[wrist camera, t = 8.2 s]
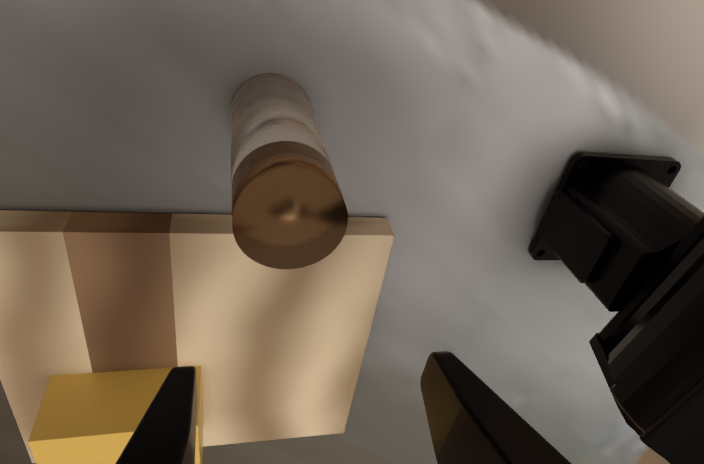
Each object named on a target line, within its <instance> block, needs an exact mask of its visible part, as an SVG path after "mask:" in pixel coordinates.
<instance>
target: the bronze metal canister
mask: <svg viewBox="0 0 704 464" xmlns="http://www.w3.org/2000/svg"><path fill="white" fill-rule="evenodd" d="M231 174H232V229H233V235H234V238H235V240H236V243H237V244H238V246H239V248H240V249H241V250H242V251H243V253H244V254H246V255H247V256H248V257H249V258H250V259H252V260H253V261H255V262H257V263H259V264H261V265H264V266H267V267H270V268H275V269H297V268H302V267H306V266H309V265H312V264H315V263H317V262H319V261H321V260H322V259H324V258H325V257H327V256H328V255H329V254H331V253H332V252H333V251H334V250H335V249H336V248H337V246H338V245H339V244H340V242H341V241H342V239H343V237H344V235H345V232H346V229H347V224H348V213H347V208H346V205H345V202H344V200H343V197H342V194H341V191H340V188H339V186H338V183H337V180H336V177H335V174H334V171H333V169H332V166H331V163H330V160H329V157H328V155H327V152H326V149H325V146H324V143H323V141H322V138H321V135H320V132H319V129H318V127H317V124H316V121H315V118H314V115H313V112H312V110H311V107H310V104H309V101H308V99H307V96H306V94H305V93H304V91H303V90H302V88H301V87H300V86H299V85H298V84H297V83H295V82H294V81H293V80H291V79H289V78H287V77H285V76H282V75H278V74H262V75H258V76H255V77H252V78H251V79H249V80H247V81H246V82H244V83H243V84H242V85H241V86H240V87H239V88H238V90H237V91H236V93H235V95H234V97H233V99H232V103H231Z"/></svg>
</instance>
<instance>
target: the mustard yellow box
mask: <svg viewBox="0 0 704 464" xmlns="http://www.w3.org/2000/svg"><path fill="white" fill-rule="evenodd" d="M194 367H195V368H196V381H197V414H196V441H195V464H202V449H203V425H204V420H203V398H202V376H201V366H194ZM173 368H174V367H173ZM171 369H172V368H158V369H143V370H128V371H113V372H97V373H82V374H67V375H52V376H51V377H50V379H49V382H48V385H47V388H46V391H45V394H44V397H43V399H42V402H41V405H40V408H39V411H38V414H37V417H36V420H35V422H34V425H33V428H32V431H31V434H30V437H29V440H28V444H29V446H30V448H31V451H32V453H33V456H34V458H35V461H36V463H37V464H116V462H117V460H118V458H119V457H120V455H121V453H122V452H123V450H124V448H125V446H126V445H127V443H128V441H129V440H130V438H131V436H132V435H133V433H134V431H135V429H136V428H137V426H138V424H139V423H140V421H141V419H142V418H143V416H144V414H145V412H146V411H147V409H148V407H149V406H150V404H151V402H152V401H153V399H154V397H155V395H156V394H157V392H158V390H159V389H160V387H161V385H162V384H163V382H164V380H165V378H166V377H167V375H168V373H169V372H170V370H171Z"/></svg>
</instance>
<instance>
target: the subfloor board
mask: <svg viewBox="0 0 704 464" xmlns="http://www.w3.org/2000/svg"><path fill="white" fill-rule="evenodd" d="M394 236H395V235H394V233H393V231H392V229H391V227H390V225H389V222H388V220H387V218H369V217H348V224H347V229H346V232H345V235H344V237H343V239H342V241H341V242H340V244H339V245H338V246H337V248H336V249H335V250H334V251H333V252H332V253H331V254H329V255H328V256H327V257H325V258H324V259H322V260H321V261H319V262H317V263H315V264H312V265H309V266H306V267H302V268H297V269H275V268H270V267H267V266H264V265H261V264H259V263H257V262H255V261H253V260H252V259H250V258H249V257H248V256H247V255H246V254H244V253H243V251H242V250H241V249H240V248H239V246H238V244H237V243H236V240H235V238H234V235H233V229H232V215H221V214H171V213H121V212H72V211H22V210H0V380H1V382H2V385H3V388H4V390H5V393H6V396H7V398H8V401H9V403H10V406H11V409H12V411H13V414H14V417H15V419H16V422H17V424H18V427H19V430H20V432H21V435H22V438H23V440H24V443H25V445H26V448H27V451H28V453H29V456H30V458H31V461H32V463H36V461H35V458H34V456H33V453H32V451H31V448H30V446H29V444H28V440H29V437H30V434H31V431H32V428H33V425H34V422H35V420H36V417H37V414H38V411H39V408H40V405H41V402H42V399H43V397H44V394H45V391H46V388H47V385H48V382H49V379H50V377H51V376H52V375H67V374H82V373H97V372H113V371H128V370H143V369H158V368H173V367H181V366H201V376H202V398H203V420H204V425H203V446H214V445H224V444H234V443H244V442H255V441H265V440H275V439H285V438H295V437H306V436H316V435H326V434H336V433H344V430H345V426H346V422H347V418H348V414H349V411H350V407H351V403H352V399H353V395H354V391H355V387H356V383H357V380H358V376H359V372H360V368H361V364H362V360H363V356H364V352H365V348H366V345H367V341H368V337H369V333H370V329H371V325H372V321H373V317H374V314H375V310H376V306H377V302H378V298H379V294H380V290H381V286H382V283H383V279H384V275H385V271H386V267H387V263H388V259H389V255H390V251H391V248H392V244H393V240H394Z"/></svg>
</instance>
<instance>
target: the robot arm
mask: <svg viewBox="0 0 704 464" xmlns="http://www.w3.org/2000/svg"><path fill="white" fill-rule="evenodd" d="M582 161H583V162H582ZM580 162H582V163H581V164H580V165H579V163H580ZM680 168H681V164H680V163H679V162H678V161H677V160H675V159H673V158H665V157H649V156H633V155H618V154H602V153H586V152H581V153H577V154H575V155H574V156H573V157H572V158H571V159H570V161H569V163H568V165H567V168H566V170H565V172H564V174H563V176H562V179H561V181H560V183H559V185H558V187H557V189H556V192H555V194H554V196H553V198H552V200H551V203H550V205H549V207H548V209H547V211H546V213H545V216H544V218H543V220H542V222H541V224H540V227H539V229H538V231H537V233H536V235H535V237H534V240H533V242H532V244H531V246H530V248H529V254H530V255H531V257H532V258H533V259H534V260H561V261H562V262H563V263H564V264H565V266H566V267H567V268H568V269H569V270H570V271H571V273H572V274H573V275H574V276H575V277H576V278H577V280H578V281H579V282H581V283H585V284H586V285H587V286H588V288H589V289H590V290H591V291H592V292H593V293H594V295H595V296H596V297H597V298H598V299H599V300H600V301H601V303H602V304H603V305H604V306H605V307H606V308H607V309H608V311H611V312H614V311H618V313H617V314H616V315H615V316H614V317H613V318H612V319H611V320H610V322H609V323H608V324H607V325H606V326H605V327H604V328H603V329H602V331H601V332H600V333H596V334H595V335H594V337H593V338H592V339H591V340H590V341H589V342H590V345H591V347H592V349H593V352H594V354H595V356H596V358H597V361H598V363H599V365H600V368H601V370H602V372H603V374H604V377H605V379H606V381H607V384H608V386H609V388H610V390H611V393H612V395H613V397H614V399H615V402H616V404H617V406H618V408H619V410H620V412H621V414H622V415H623V417H624V419H625V421H626V423H627V424H628V425H629V426H630V427H631V428H632V429H634V430H635V432H636V433H637V434H638V435H639V436H640V439H641V441H642V442H643V443H644V444H646V445H647V446H648V447H650V448H651V449H652V450H654V451H655V452H656V453H658V454H659V455H661V456H662V457H663V458H665V459H666V460H667V461H668V462H669V463H670V464H704V213H703V212H702V211H700V210H699V209H698V208H696V207H695V206H693V205H692V204H691V203H689V202H688V201H686V200H685V199H684V198H682V197H681V196H679V195H678V194H677V193H675V192H674V191H672V190H671V189H670V188H669V187H670V185H671V183H672V182H673V180H674V178H675V177H676V175H677V174H678V172H679V170H680ZM539 250H540V251H539ZM421 391H422V395H423V400H424V405H425V409H426V414H427V419H428V423H429V428H430V433H431V437H432V442H433V447H434V451H435V455H436V459H437V462H438V464H571V463H570V462H569V461H568V460H567V459H566V458H565V457H564V456H562V455H561V454H560V453H559V452H558V451H557V450H556V449H555V448H554V447H553V446H552V445H551V444H550V443H548V442H547V441H546V440H545V439H544V438H543V437H542V436H541V435H540V434H539V433H538V432H537V431H536V430H534V429H533V428H532V427H531V426H530V425H529V424H528V423H527V422H526V421H525V420H524V419H523V418H522V417H520V416H519V415H518V414H517V413H516V412H515V411H514V410H513V409H512V408H511V407H510V406H509V405H508V404H506V403H505V402H504V401H503V400H502V399H501V398H500V397H499V396H498V395H497V394H496V393H495V392H494V391H492V390H491V389H490V388H489V387H488V386H487V385H486V384H485V383H484V382H483V381H482V380H481V379H480V378H478V377H477V376H476V375H475V374H474V373H473V372H472V371H471V370H470V369H469V368H468V367H467V366H466V365H464V364H463V363H462V362H461V361H460V360H459V359H458V358H457V357H456V356H455V355H454V354H452V353H451V352H448V351H442V352H432V353H431V354H430V355H429V357H428V360H427V362H426V365H425V368H424V371H423V373H422V376H421ZM196 414H197V381H196V368H195V367H194V366H181V367H174V368H172V369H171V370H170V372H169V373H168V375H167V377H166V378H165V380H164V382H163V384H162V385H161V387H160V389H159V390H158V392H157V394H156V395H155V397H154V399H153V401H152V402H151V404H150V406H149V407H148V409H147V411H146V412H145V414H144V416H143V418H142V419H141V421H140V423H139V424H138V426H137V428H136V429H135V431H134V433H133V435H132V436H131V438H130V440H129V441H128V443H127V445H126V446H125V448H124V450H123V452H122V453H121V455H120V457H119V458H118V460H117V462H116V464H195V441H196Z"/></svg>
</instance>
